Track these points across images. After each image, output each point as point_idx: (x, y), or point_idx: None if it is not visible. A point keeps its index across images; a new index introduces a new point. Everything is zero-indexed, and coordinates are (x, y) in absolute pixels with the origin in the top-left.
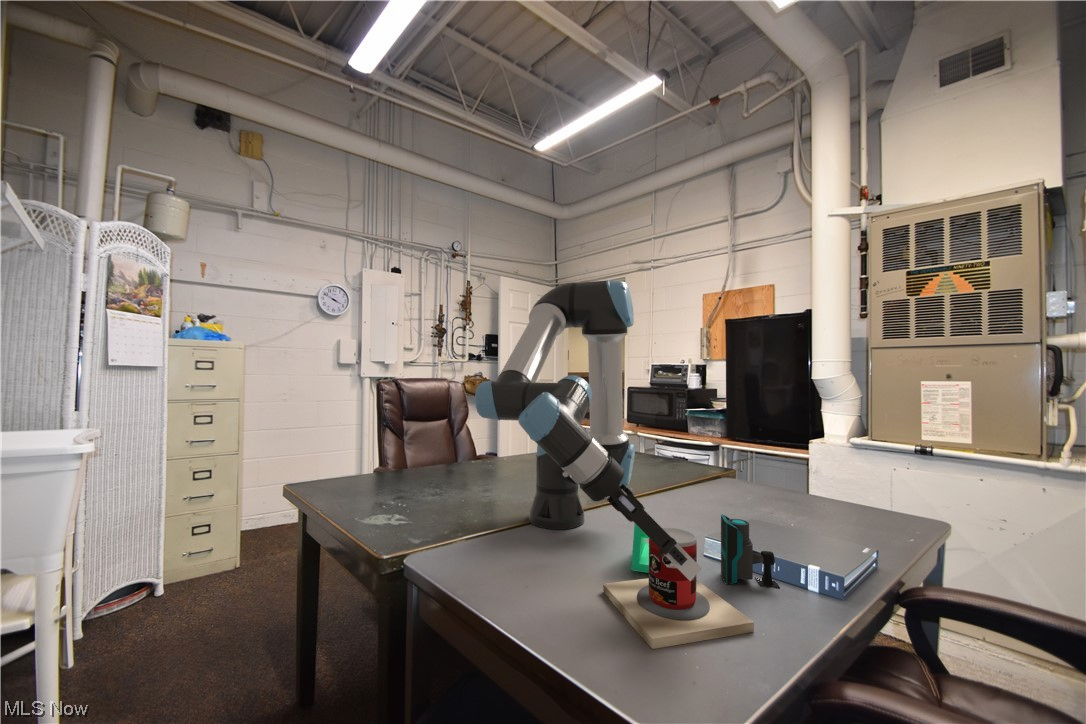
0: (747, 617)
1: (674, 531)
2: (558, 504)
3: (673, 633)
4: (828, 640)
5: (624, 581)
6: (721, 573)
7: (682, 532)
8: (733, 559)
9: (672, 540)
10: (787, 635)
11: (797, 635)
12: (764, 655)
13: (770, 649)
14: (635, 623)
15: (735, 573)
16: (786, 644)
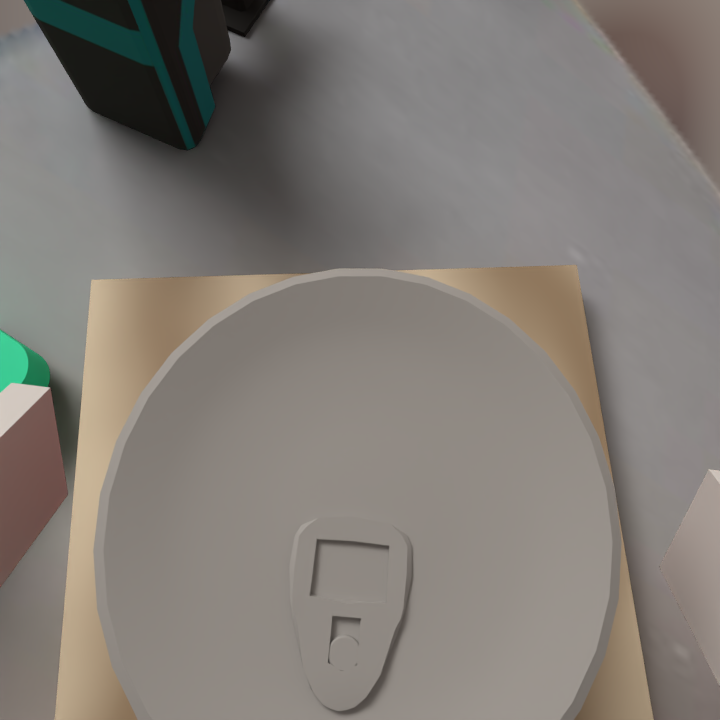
0: (541, 266)
1: (208, 405)
2: None
3: (633, 682)
4: (634, 83)
5: (60, 704)
6: (101, 110)
7: (268, 338)
8: (180, 32)
9: None
10: (594, 183)
11: (597, 152)
12: (706, 343)
13: (672, 298)
14: None
15: (203, 81)
16: (646, 225)
